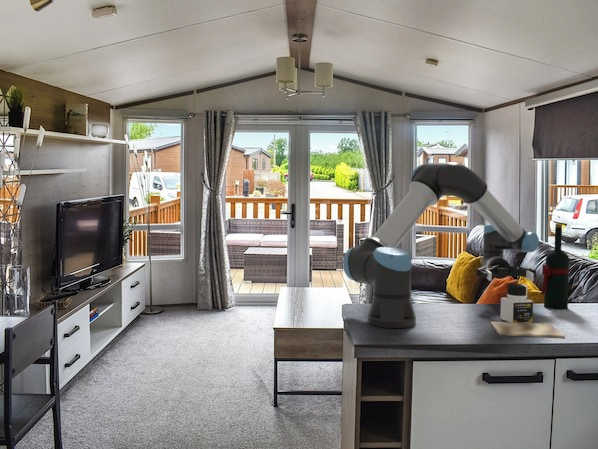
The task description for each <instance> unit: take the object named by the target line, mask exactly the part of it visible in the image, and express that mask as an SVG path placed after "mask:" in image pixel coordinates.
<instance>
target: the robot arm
mask: <svg viewBox="0 0 598 449" xmlns="http://www.w3.org/2000/svg"><path fill="white" fill-rule="evenodd" d="M408 189H409V191H408V192H407V193H406V195H405V196H404V197H403V199H402V200H401V201H400V202H399V204H397V206H396V207H395V208H394V209H393V211H392V212H391V213H390V214H389V216H388V217H387V218H386V219H385V221H383V223H382V225H380V227H379V228H378V229H377V230H376V232H375V233H374V234H373V235H372V237H371V236H370V237H365V239H363V241H362V242H361V243H360V245H358V246H352V247H350V248H349V249H348V250H346V252H345V254H344V255H343V258H342V264H343V265H342V267H343V271H344V274H345V276H346V277H347V278H348V279H350V280H352V281H354V282H355V283H359V284H363V285H364V284H365V285H369V286H373V297H372V301H371V304H370V307H369V310H368V312H367V323H368V324H369V325H372V326H374V327H377V328H378V327H379V328H387V329H405V328H410V327H414V326H415V325H416V324H417V323H416V322H417V317H416V314H415V309H414V306H413V303H412V300H411V298H412V297H411V296H412V295H411V294H412V293H411V292H412V272H413V271H412V270H413V269H412V267H413V264H412V256H411V254H410V253H409V251H407V250H405V249H402V248H398V246H399V244H400V243H401V242H402V241H403V239H404V238H405V237H406V236H407V234H408V233H409V232H410V231H411V229H413V227H414V225H415V224H416V223H417V221H418V220H419V219H420V218H421V217H422V216H423V214H424V213H425V211H426V210H427V209H428V208H429V207H432V206H436V205H437V203H438V202H439V201H440V200H441V198H442V197H443V196H445V197H446V196H447V197H456V198H458V199H461V200H462V201H463V202H464V203H466V204H467V205H471V207H472V208H473V209H475V211H477V212H478V213H479V214H480V216H481V217H482V218H484V219H485V221H486V222H488V223H487V224H485V225H484V226H483V241H482V242H483V252H482V257H481V259H480V260H481V262H480V264H481V267H479V268H477V269H476V271H475V272H476V275H475V276H476V277H477V278H479V277H481V279H482V280H486V279H487V280H488V281H490V282H492V277H493V278H495V279H497V280H503V279H505V278H507V277H508V276H509V277H515V276H516V277H521V278H522V277H523V278H525V279H526V280H528V281H529V282H534V279H536V278H537V270H536V269H532V268H531V267H530V268H527V267H526V268H525V267H523V266H516V267H515V266H511V264H510V263H509V261H508V260H505V258H504V251H506V250H507V251H512V252H513V251H515V252H521V253H533V252H535V251H536V250H537V249H538V246H539V244H540V239H539V236H538V234H537V233H535V232H532V231H527V230H525V228H524V227H523V226H522V225H521V224H520V223H519V221H517V220H516V218H515V217H513V216H512V214H511V213H510V212H509V211H508V210H507V208H505V207H504V206H503V205H502V204H501V202H500V201H499V200H498V199H497V198H496V197H495V195H493V193H492V192H490V190H489V189H488V184H487V182H485V180H484V179H483V178H482V177H480V176H479V175H478V174H477V173H476V172H475V171H473V170H472V169H471V168H469V167H468V166H466V165H464V164H462V163H459V162H456V161H453V162H452V161H451V162H426V163H422V164H420V165H418V166H416V167H415V168H414V169H413V171H412V172H411V174H410V178H409V185H408Z"/></svg>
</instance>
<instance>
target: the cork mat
mask: <svg viewBox="0 0 598 449" xmlns="http://www.w3.org/2000/svg"><path fill="white" fill-rule="evenodd" d="M490 325H491V326H492V328H493V329H494V330H495V331H496V333H497V334H498V335H499V336H508V337H509V336H510V337H511V336H514V337H516V336H517V337H537V338H560V339H562V338H563V339H564V338H566V337H565V336H566V335H565V334H563V333H562V332H561V331H560V330H558V329H557V328H556V327H555V326H554V325H552V324H551V323H539V322H538V323H537V322H536V323H535V322H532V323H514V322H507V321H490Z"/></svg>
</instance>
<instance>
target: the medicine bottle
mask: <svg viewBox="0 0 598 449" xmlns="http://www.w3.org/2000/svg"><path fill="white" fill-rule="evenodd" d="M506 287H507V289H506V297H505V296H504V297H501V298H500V315H499V316H500V317H499V318H500V320H503V321H504V322H514V323H533V318H534V316H533V314H534V313H533V310H534V301H533V300H532V299H527V298H528V286H527V284H523V283H514V282H513V283H509V284H507V286H506Z"/></svg>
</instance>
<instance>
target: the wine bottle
mask: <svg viewBox="0 0 598 449" xmlns="http://www.w3.org/2000/svg"><path fill="white" fill-rule="evenodd" d="M562 234H563V224H562V223H555V228H554V250H551V251H550V252H548V253H547V255H546V258H545V264H542V268H541V269H542V272H541V275H542V276H544V277H543V282H542V287H541V288H542V289H541V291H540V294H539V296H541V295H542V296H543V307H544V308H545V309H549V310H557V311H559V310H560V311H561V310H562V311H564V310H568V308H569V304H568V303H569V279H570V278H569V276H570V257H569V255H568V254H567V253H566V252H565V251H563V250H562V243H563V242H562V241H563V240H562V238H563V237H562V236H563V235H562Z"/></svg>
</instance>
